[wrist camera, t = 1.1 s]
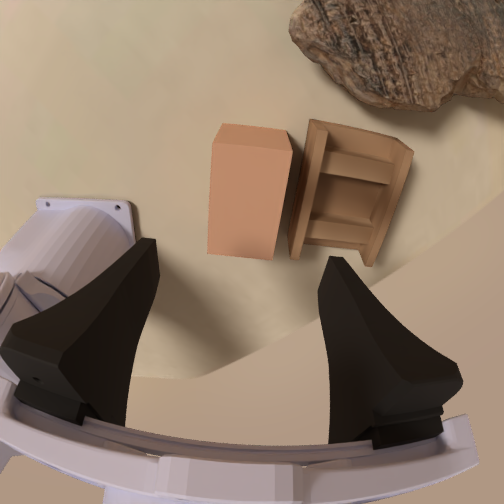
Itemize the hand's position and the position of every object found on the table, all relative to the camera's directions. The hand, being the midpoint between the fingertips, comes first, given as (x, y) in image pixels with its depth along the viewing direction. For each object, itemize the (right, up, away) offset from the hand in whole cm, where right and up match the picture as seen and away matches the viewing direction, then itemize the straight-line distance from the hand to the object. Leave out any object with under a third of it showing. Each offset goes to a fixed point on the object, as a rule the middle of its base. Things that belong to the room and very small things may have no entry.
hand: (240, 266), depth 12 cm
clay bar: (0, +6, +8) cm, 10 cm away
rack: (+7, +5, +8) cm, 11 cm away
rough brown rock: (+12, +16, 0) cm, 20 cm away
